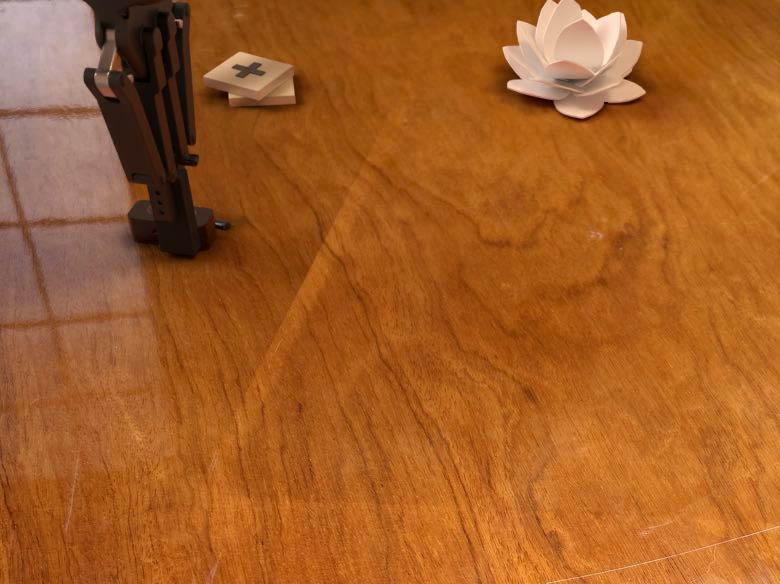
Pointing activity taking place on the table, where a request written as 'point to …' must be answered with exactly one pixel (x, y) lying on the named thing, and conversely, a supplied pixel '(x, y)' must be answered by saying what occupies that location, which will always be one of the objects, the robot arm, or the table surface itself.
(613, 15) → the lotus flower
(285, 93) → the tile pile
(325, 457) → the table surface
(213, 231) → the brown electronic gadget
